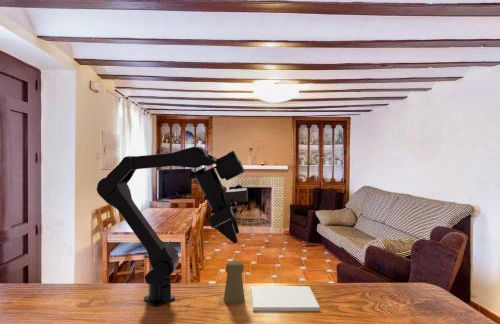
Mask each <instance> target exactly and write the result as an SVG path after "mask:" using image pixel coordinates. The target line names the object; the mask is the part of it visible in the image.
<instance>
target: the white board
mask: <svg viewBox="0 0 500 324" xmlns="http://www.w3.org/2000/svg"><path fill="white" fill-rule="evenodd" d="M250 292H251V303H252V311H253V312H258V311H259V312H267V311H269V312H280V311H281V312H293V311H294V312H301V311H302V312H305V311H306V312H311V311H312V312H320V310H321V309H320V308H321V307H320V305H319V303H318V301H317V298H316V296H315V294H314V293H313V291H312V289H311V287H310V286H304V285H302V286H297V285H293V286H292V285H288V286H287V285H286V286H285V285H283V286H282V285H281V286H280V285H279V286H278V285H276V286H275V285H273V286H272V285H271V286H270V285H269V286H268V285H267V286H266V285H265V286H264V285H261V286H260V285H259V286H258V285H251V286H250Z"/></svg>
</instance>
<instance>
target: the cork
mask: <svg viewBox="0 0 500 324" xmlns="http://www.w3.org/2000/svg"><path fill="white" fill-rule="evenodd" d="M244 268H245V266H244V263H243V262H241V261H240V260H229V261H228V262H227V263H226V264H225V273H226V274H227V275H226V279H225V280H226V281H225V289H224V293H223V294H224V295H223V302H224V303H226V304H229V305H234V306H235V305H241V304H243V303H244V302H245V301H246V300H245V290H244V283H243V282H244V281H243V274H242V273H244Z"/></svg>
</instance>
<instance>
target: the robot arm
mask: <svg viewBox="0 0 500 324" xmlns="http://www.w3.org/2000/svg"><path fill="white" fill-rule="evenodd" d="M214 164H215V166H212V165H214ZM203 166H205V167H203ZM210 166H212V167H210ZM162 167H163V168H164V167H179V168H181V167H182V168H191V170H190V171H189V176H188V178H187V181H189V182H190V181H192V180H196V182H197V184H198V186H199V188H200V190H201V192H202V193H203V200H204V201H206V203H207V204H208V206H209V208H210V213H211V214H210V216H209V219H208V223H209V225H210V228H213V230H216V231H217V232H219V233H221V234H222V235H223V236H224V237H226V238H227V239H228V240H229V241H231V243H233V245H234V244H237V243H238V242H239V240H238V238H237V237H238V236H237V234H239V233H240V230H239V224H238V221H237V217H236V212H237V209H238V205H237V204H238V203H240V202H242V203H246V202H248V201H249V195H248V188H247V187H243V185H242V184H235V187H234V188H231V189H227V186H225V185H223V184H222V181H221V180H225V181H226V182H227V181H230V180H232V179H233V178H236V177H238V176H239V175H242V174H243V173H245V172H246V171H245V167H244V166H243V164H242V162H241V160H240V159H239V157H238V156H237V153H236V152H235V150H232V151H230V152H228V153H227V154H225V155H223V156H221V157H219V158H217V157H216V156H212V155H211V154H208V150H207V149H205V148H204V147H203V146H191V147H187V148H184V149H180V150H177V151H174V152H169V153H167V152H166V153H165V152H164V153H158V154H157V153H156V154H147V155H145V154H144V155H128V156H124V157H123V158H122V159H121V161H120V162H119V163H118V165H116V166H115V167H114V168H113V169H112V170H111V171H110V172H109V173H108V174H107V176H106V177H104V178H101V179H100V180H99V181H98V182H97V187H96V192H97V195H98V196H99V197H100V198H102V199H103V201H105V203H107V204H108V205H110V206H112V207H113V208H115V209H116V210H117V211H118V212H119V214H120V215H121V216H122V218H123V219H124V221H125V222H126V223H127V225H128V226H129V228H130V229H131V230H132V232H133V234H134V235H135V236H136V238H137V239H138V240H139V242H140V243H141V245H142V246H143V248H145V250H146V253H147V258H148V262H149V264H150V266H151V268H150V269H149V271H148V272H147V273H146V274H145V276H144V280H145V283H146V285H148V295H146V296H143V300H144V301H146V302H147V303H150V304H151V305H152V306H154V307H158V306H161V305H164V304H165V303H168V302H171V301H173V300H175V299H176V296H174V295H172V286H171V275H172V274H173V272H174V271H175V270H176V268H177V266H178V265H179V262H180V255H179V250H177V249H176V248H175V246H174V244H173V243H172V241H171V240H169V241H168V243H166V242H165V241H163V240H162V239H161V238H160V237H159V236H158V234H157V233H156V232H155V230H154V228H153V227H152V226H151V224H150V223H149V221H148V220H147V218H146V217H145V216H144V214H143V213H142V211H141V210H140V208H139V207H138V206H137V204H136V203H135V201H134V200H133V197H132V192H131V189H130V186H129V184H128V183H129V182H130V181H131V179H132V177H133V176H134V174H135V172H136V171H137V170H142V169H143V170H144V169H153V168H162ZM200 167H202V168H200ZM207 167H210V168H208V169H207ZM198 168H200V169H198ZM192 169H198V170H192ZM220 179H221V180H220ZM237 202H238V203H237Z"/></svg>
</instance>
